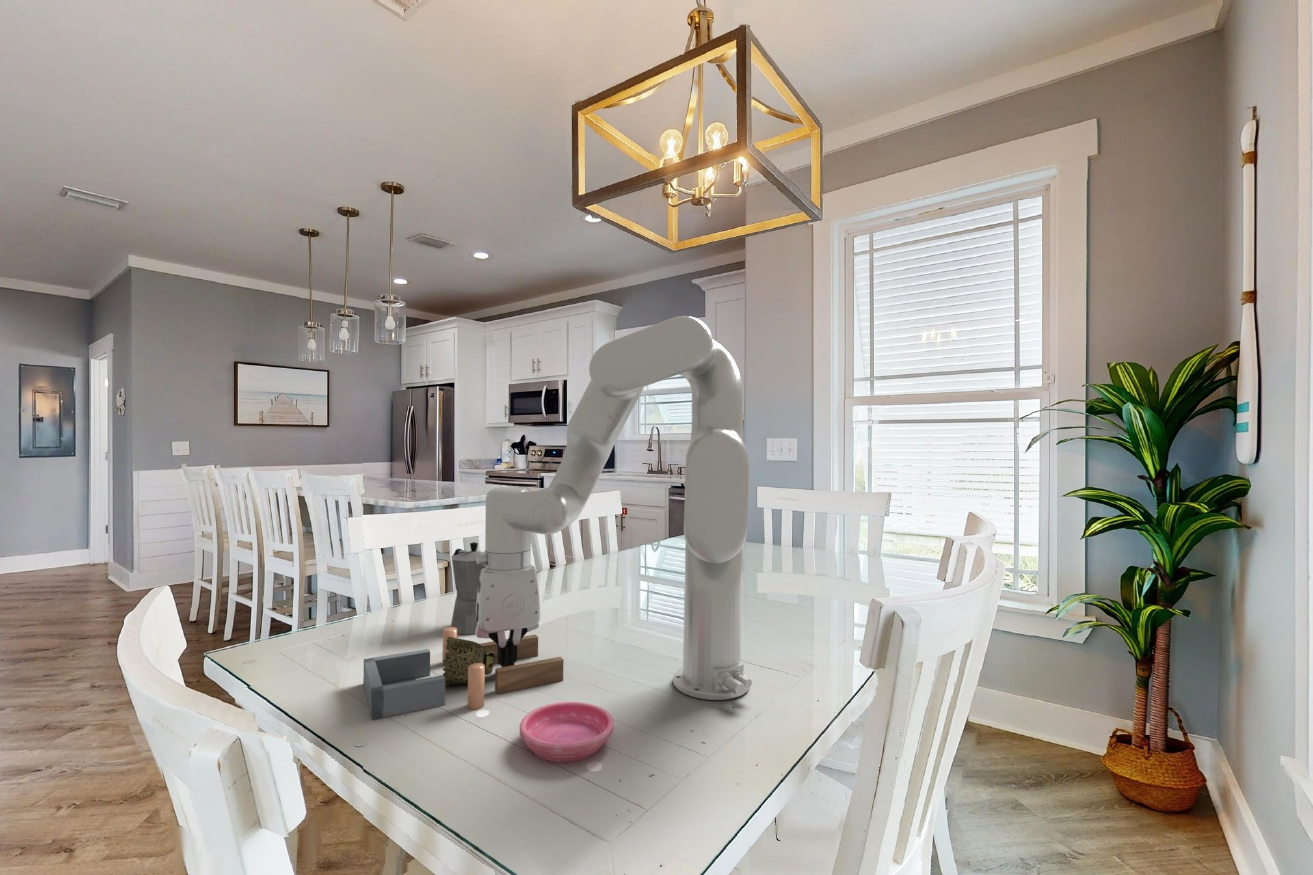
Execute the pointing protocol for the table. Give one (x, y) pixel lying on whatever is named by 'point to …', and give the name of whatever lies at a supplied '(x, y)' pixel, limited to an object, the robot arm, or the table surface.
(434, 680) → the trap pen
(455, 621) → the coffeepot
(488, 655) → the cup
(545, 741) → the pink bowl
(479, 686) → the goal posts
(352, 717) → the table surface
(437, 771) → the table surface
